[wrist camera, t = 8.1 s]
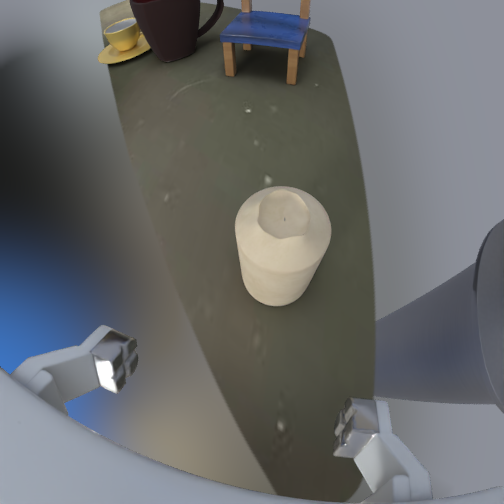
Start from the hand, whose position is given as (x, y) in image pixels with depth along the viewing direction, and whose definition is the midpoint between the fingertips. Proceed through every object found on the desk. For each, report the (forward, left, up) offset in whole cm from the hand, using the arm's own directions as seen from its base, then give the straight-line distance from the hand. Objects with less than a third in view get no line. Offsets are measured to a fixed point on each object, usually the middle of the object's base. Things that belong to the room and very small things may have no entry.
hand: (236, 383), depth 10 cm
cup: (+47, -29, -12) cm, 56 cm away
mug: (+35, -32, -13) cm, 49 cm away
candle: (+3, -8, -13) cm, 15 cm away
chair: (+21, -34, -13) cm, 42 cm away
